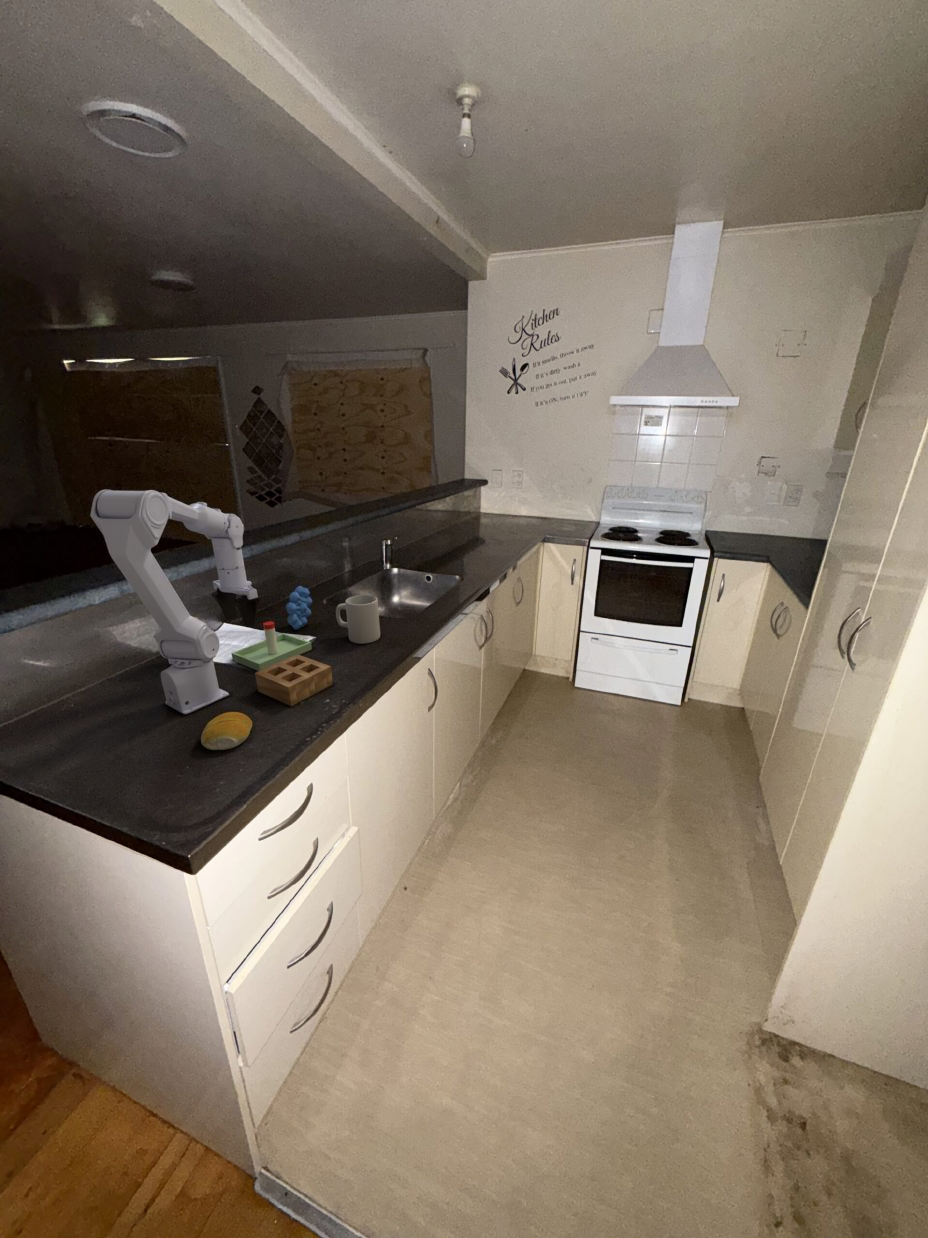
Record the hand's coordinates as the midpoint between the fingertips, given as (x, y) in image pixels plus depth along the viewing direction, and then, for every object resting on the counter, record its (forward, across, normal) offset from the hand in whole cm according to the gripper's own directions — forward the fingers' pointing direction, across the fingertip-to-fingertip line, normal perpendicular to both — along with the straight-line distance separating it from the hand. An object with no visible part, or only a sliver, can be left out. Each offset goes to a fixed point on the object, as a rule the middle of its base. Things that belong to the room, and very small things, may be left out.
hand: (240, 622), depth 115 cm
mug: (+10, -12, -26) cm, 30 cm away
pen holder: (+10, -21, +2) cm, 23 cm away
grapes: (+10, +8, -22) cm, 26 cm away
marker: (+10, -2, -6) cm, 12 cm away
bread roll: (+11, -26, +21) cm, 35 cm away
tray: (+10, -2, -6) cm, 12 cm away
